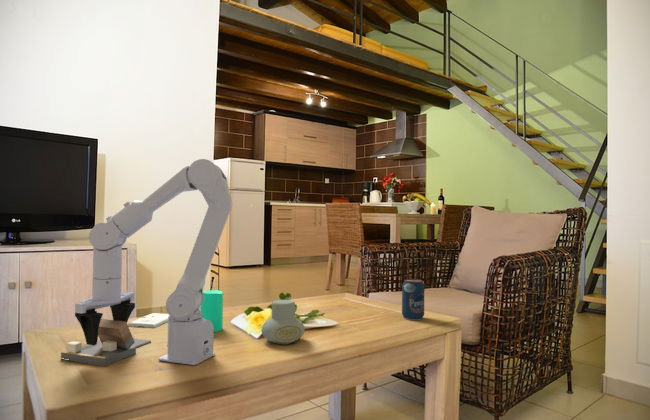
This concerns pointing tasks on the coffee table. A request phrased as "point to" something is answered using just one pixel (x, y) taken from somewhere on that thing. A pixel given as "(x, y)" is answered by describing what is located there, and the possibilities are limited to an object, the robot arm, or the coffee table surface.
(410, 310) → the soda can
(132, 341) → the bar
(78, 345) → the tab
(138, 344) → the tool pad
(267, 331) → the air freshener
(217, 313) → the candle
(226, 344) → the coffee table surface
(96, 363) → the switch board
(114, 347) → the tab
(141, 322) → the external hard drive
